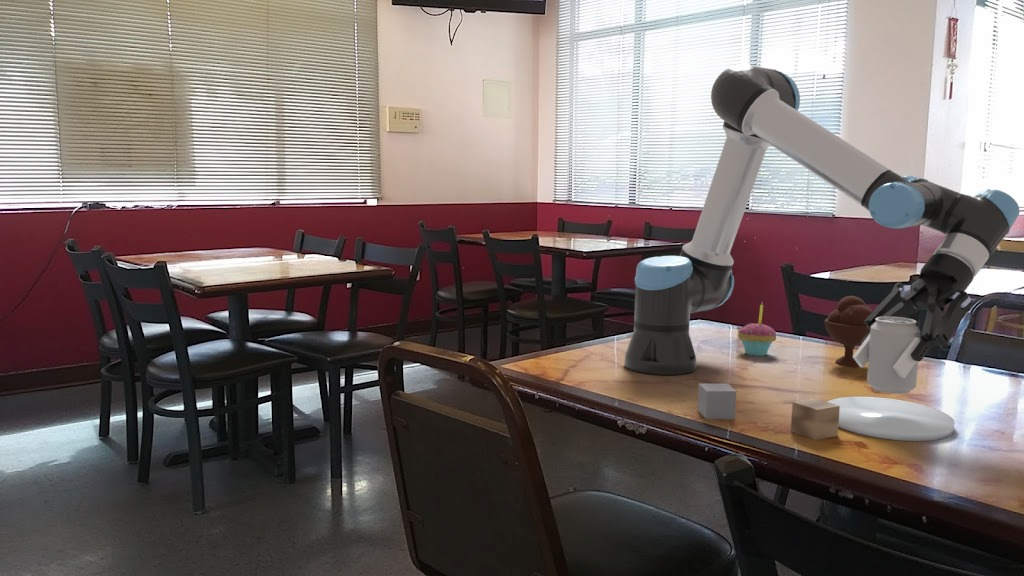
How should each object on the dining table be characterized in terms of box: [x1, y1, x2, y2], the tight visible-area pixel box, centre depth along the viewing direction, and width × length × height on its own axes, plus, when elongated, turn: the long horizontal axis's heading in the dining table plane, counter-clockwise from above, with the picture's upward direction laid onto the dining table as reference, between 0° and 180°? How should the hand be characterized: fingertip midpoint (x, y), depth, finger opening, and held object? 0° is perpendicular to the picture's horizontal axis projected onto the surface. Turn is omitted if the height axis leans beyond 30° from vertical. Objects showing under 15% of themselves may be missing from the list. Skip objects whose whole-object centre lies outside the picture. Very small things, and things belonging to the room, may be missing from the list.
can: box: [866, 317, 921, 395], centre depth 134 cm, size 8×8×12 cm
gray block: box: [697, 383, 737, 420], centre depth 138 cm, size 5×5×5 cm
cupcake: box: [737, 301, 777, 357], centre depth 186 cm, size 9×8×12 cm
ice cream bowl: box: [824, 295, 874, 368], centre depth 176 cm, size 11×11×15 cm
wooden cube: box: [790, 397, 840, 441], centre depth 129 cm, size 5×5×5 cm
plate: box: [826, 396, 955, 442], centre depth 135 cm, size 20×20×2 cm
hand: (877, 367), depth 133 cm, fingers closed on can, 7 cm apart
